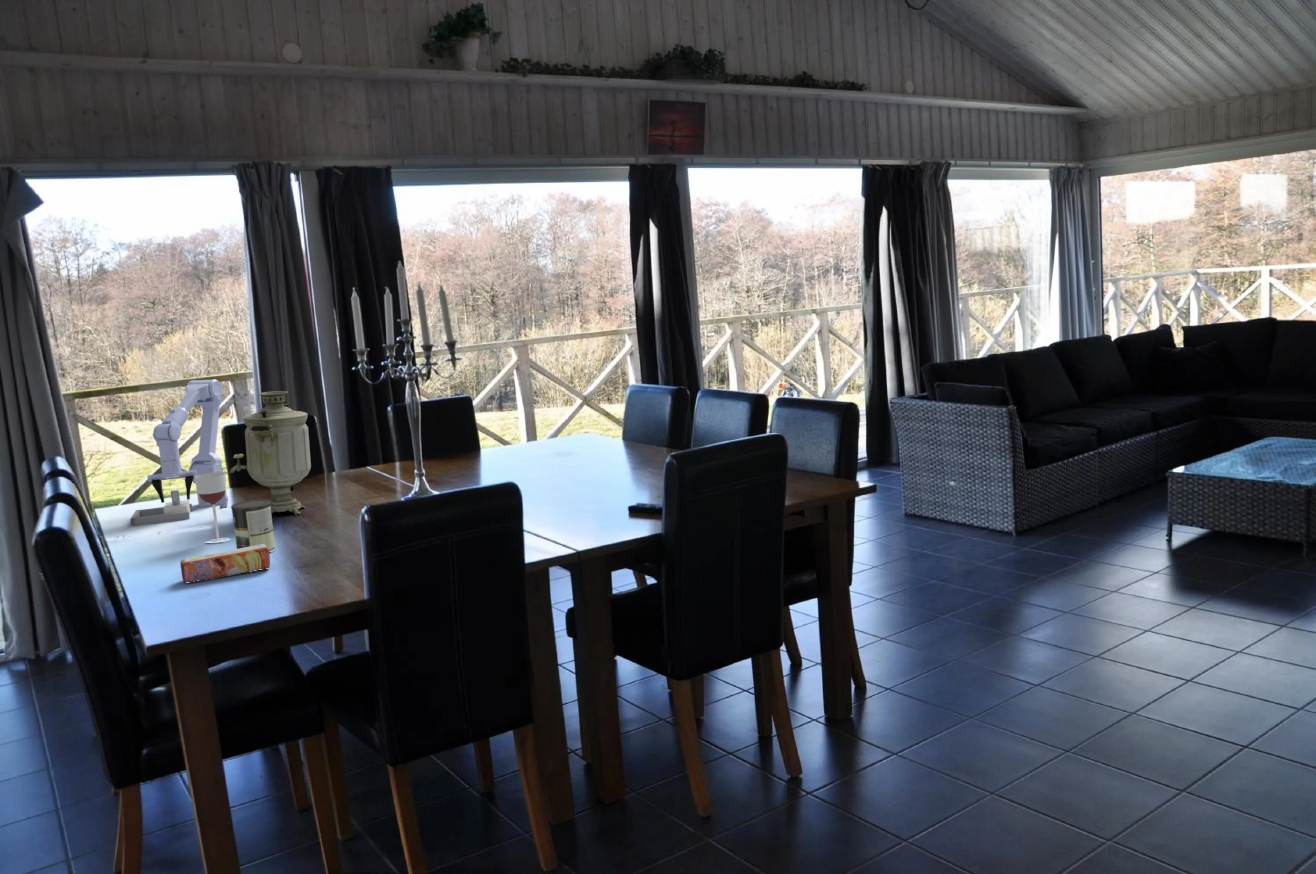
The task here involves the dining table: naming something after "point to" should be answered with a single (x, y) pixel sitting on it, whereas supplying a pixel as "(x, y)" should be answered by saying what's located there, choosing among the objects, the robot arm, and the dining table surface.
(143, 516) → the bay
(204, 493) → the wineglass
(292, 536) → the dining table surface
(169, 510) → the peg on square base
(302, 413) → the samovar
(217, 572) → the snack package
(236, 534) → the coffee can
